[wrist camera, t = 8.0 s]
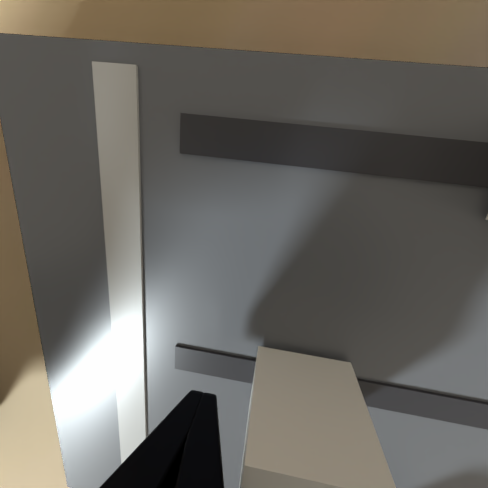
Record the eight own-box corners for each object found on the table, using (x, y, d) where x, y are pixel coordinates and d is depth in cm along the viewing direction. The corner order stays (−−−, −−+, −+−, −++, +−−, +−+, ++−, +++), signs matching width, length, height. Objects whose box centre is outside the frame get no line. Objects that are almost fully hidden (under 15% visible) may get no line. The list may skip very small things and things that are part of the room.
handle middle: (249, 402, 9) (233, 536, 6) (258, 346, 8) (244, 465, 5) (333, 419, 9) (366, 570, 6) (350, 362, 8) (400, 500, 5)
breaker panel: (95, 444, 15) (66, 489, 13) (49, 60, 9) (-20, 30, 7) (462, 529, 13) (496, 597, 11) (732, 115, 7) (921, 96, 5)
